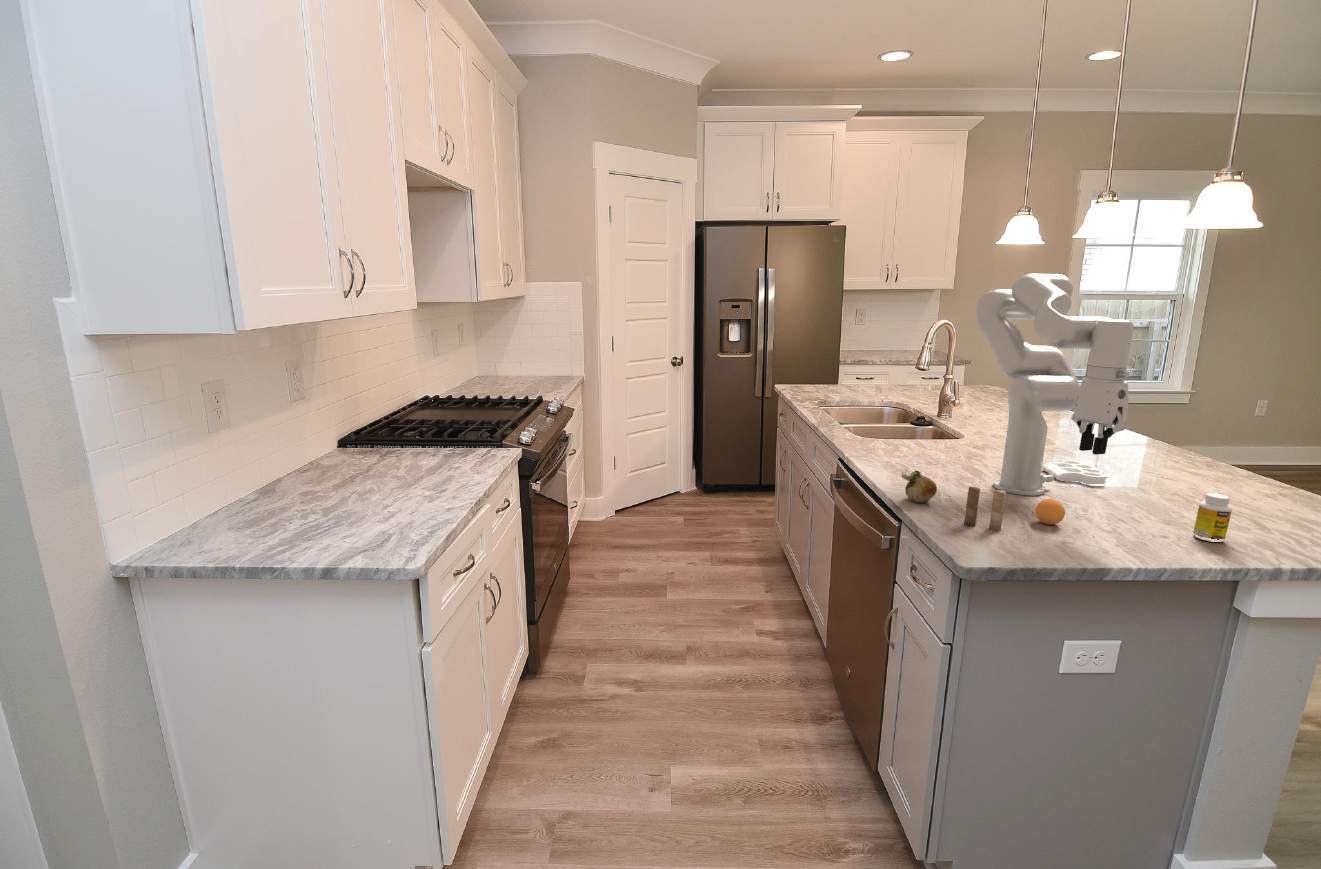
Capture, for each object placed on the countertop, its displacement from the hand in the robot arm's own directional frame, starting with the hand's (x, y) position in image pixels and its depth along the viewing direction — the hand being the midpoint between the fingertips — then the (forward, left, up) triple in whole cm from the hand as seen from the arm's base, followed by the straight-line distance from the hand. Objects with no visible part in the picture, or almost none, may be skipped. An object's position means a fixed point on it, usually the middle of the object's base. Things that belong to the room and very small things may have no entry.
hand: (1092, 451), depth 151 cm
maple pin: (+24, 0, -17) cm, 30 cm away
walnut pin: (+28, -4, -17) cm, 33 cm away
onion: (+29, -21, -17) cm, 40 cm away
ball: (+9, 0, -14) cm, 17 cm away
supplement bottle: (-19, +16, -17) cm, 30 cm away
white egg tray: (-31, -30, -18) cm, 46 cm away
